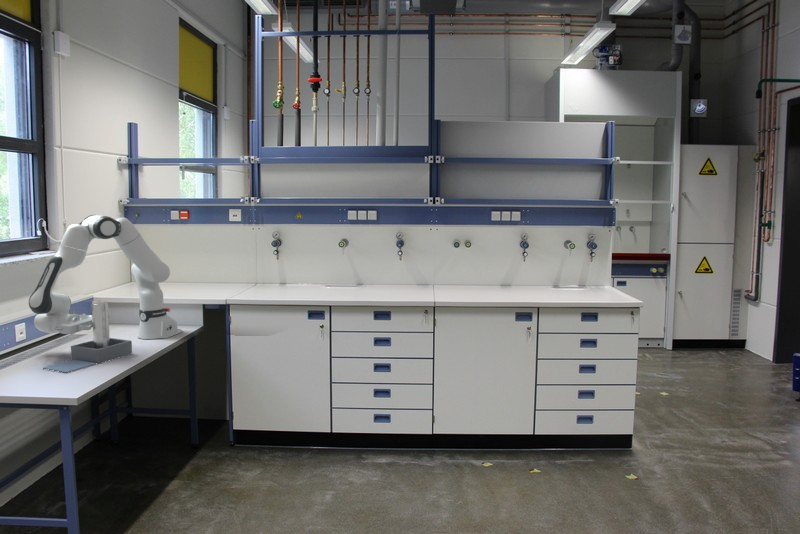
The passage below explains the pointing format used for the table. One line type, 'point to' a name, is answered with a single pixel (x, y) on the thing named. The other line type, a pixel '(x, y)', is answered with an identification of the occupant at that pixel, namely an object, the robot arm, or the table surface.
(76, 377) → the table surface
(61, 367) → the mat
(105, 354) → the gray open bin
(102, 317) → the light grey tall bar
